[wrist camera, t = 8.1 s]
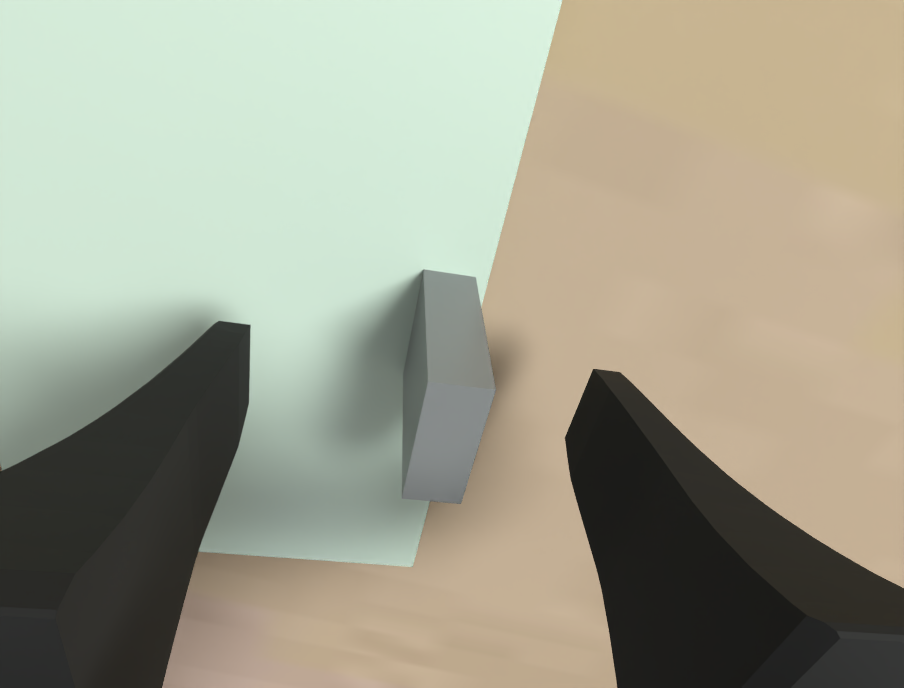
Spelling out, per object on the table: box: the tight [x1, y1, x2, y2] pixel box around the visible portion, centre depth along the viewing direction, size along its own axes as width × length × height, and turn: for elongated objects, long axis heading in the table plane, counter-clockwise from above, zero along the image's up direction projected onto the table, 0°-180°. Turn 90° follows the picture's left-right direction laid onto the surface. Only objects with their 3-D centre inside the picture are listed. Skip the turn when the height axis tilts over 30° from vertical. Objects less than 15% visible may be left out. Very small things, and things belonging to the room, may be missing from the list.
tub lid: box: [0, 0, 562, 567], centre depth 13 cm, size 19×12×5 cm, turn 168°
